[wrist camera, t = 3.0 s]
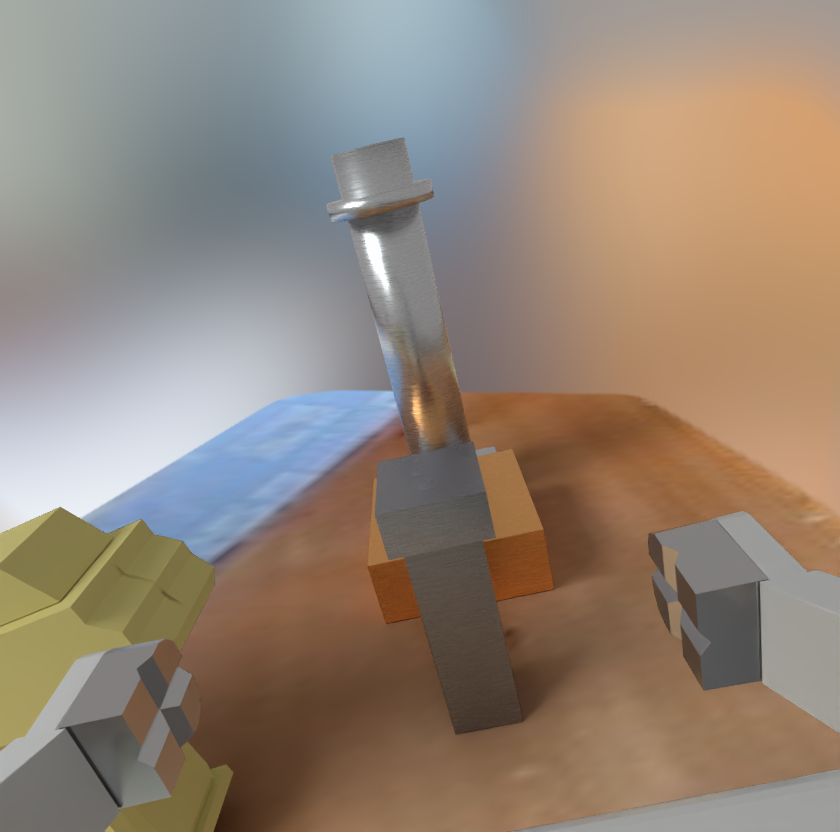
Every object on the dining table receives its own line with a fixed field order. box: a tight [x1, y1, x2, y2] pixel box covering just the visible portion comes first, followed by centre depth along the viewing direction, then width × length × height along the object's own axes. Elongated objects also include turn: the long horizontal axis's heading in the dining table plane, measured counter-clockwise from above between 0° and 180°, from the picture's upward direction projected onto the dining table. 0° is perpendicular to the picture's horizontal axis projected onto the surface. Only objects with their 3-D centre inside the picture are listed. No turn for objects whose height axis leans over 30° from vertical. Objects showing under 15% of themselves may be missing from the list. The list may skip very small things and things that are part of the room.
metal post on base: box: [326, 138, 554, 623], centre depth 36 cm, size 16×10×24 cm, turn 2°
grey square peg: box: [375, 442, 523, 734], centre depth 25 cm, size 4×4×12 cm
